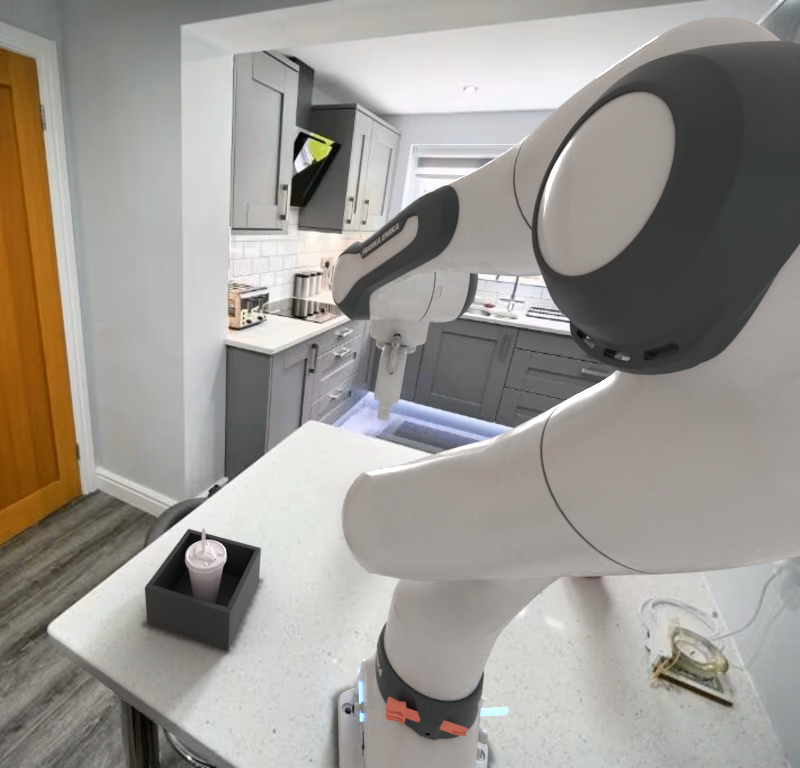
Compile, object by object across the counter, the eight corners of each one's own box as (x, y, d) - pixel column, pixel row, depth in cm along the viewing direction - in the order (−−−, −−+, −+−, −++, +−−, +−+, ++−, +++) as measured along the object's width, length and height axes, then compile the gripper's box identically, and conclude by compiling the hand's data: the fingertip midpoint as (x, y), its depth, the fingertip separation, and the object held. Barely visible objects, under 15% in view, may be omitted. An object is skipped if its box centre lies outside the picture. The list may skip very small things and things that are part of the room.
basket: (228, 650, 64) (229, 613, 62) (147, 623, 67) (144, 587, 65) (259, 581, 77) (261, 547, 74) (188, 561, 80) (188, 528, 77)
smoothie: (206, 577, 76) (207, 512, 71) (233, 597, 72) (236, 530, 67) (177, 600, 71) (175, 532, 66) (204, 623, 68) (205, 553, 62)
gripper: (419, 348, 59) (401, 438, 64) (419, 317, 77) (405, 388, 82) (372, 341, 60) (359, 430, 65) (383, 312, 79) (372, 383, 84)
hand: (385, 406), depth 74 cm, fingers open, 8 cm apart
